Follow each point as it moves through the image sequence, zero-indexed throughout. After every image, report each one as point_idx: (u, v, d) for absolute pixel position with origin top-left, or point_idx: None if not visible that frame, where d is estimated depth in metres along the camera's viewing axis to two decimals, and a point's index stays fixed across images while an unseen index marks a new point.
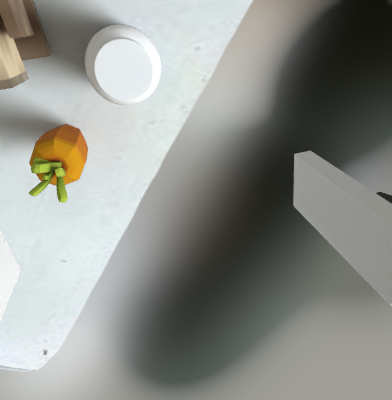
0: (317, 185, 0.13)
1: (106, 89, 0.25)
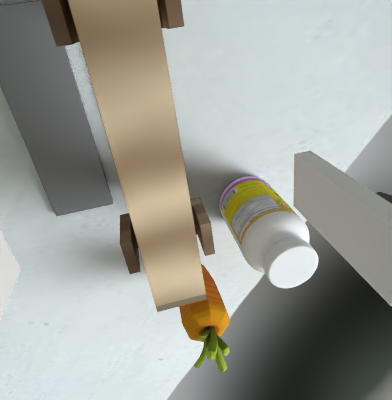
0: (317, 185, 0.13)
1: (275, 282, 0.28)
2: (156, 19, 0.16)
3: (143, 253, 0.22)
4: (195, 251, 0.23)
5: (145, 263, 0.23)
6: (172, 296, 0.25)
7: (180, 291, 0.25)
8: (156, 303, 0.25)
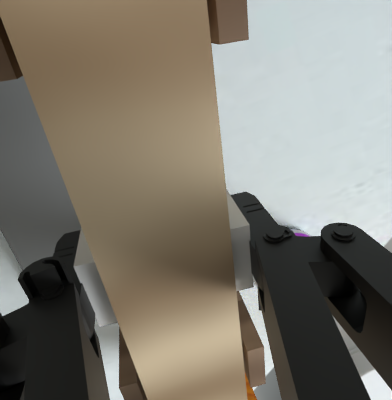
0: None
1: None
2: (201, 26, 0.07)
3: None
4: None
5: None
6: None
7: None
8: None
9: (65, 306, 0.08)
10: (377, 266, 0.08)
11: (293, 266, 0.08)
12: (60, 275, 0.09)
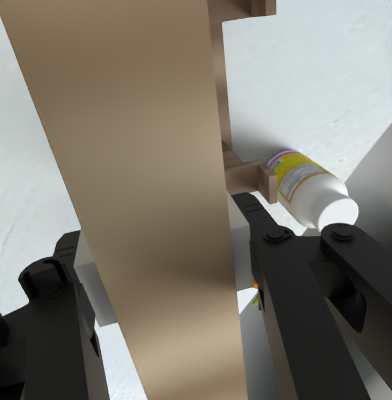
0: None
1: None
2: (202, 28, 0.07)
3: None
4: None
5: None
6: None
7: None
8: None
9: (65, 306, 0.08)
10: (377, 266, 0.08)
11: (293, 266, 0.08)
12: (60, 275, 0.09)
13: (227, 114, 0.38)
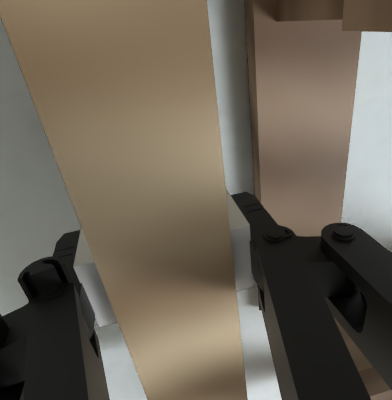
0: None
1: None
2: (202, 29, 0.07)
3: None
4: None
5: None
6: None
7: None
8: None
9: (65, 306, 0.08)
10: (377, 266, 0.08)
11: (293, 266, 0.08)
12: (59, 275, 0.09)
13: (339, 203, 0.19)
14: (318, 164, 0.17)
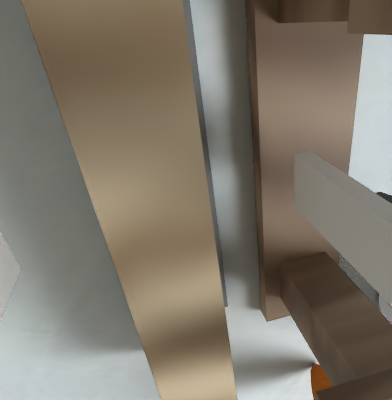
0: (317, 185, 0.13)
1: None
2: (180, 31, 0.09)
3: (153, 364, 0.15)
4: (226, 355, 0.16)
5: (155, 375, 0.16)
6: None
7: None
8: None
9: None
10: None
11: None
12: None
13: None
14: None
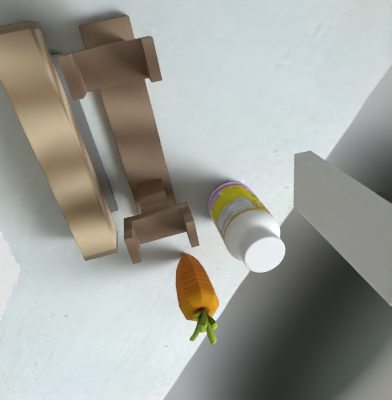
0: (317, 185, 0.13)
1: (250, 267, 0.34)
2: (51, 88, 0.30)
3: (68, 220, 0.36)
4: (102, 219, 0.37)
5: (70, 227, 0.36)
6: (93, 250, 0.38)
7: (97, 246, 0.38)
8: (83, 255, 0.38)
9: None
10: None
11: None
12: None
13: (161, 154, 0.39)
14: (143, 135, 0.37)
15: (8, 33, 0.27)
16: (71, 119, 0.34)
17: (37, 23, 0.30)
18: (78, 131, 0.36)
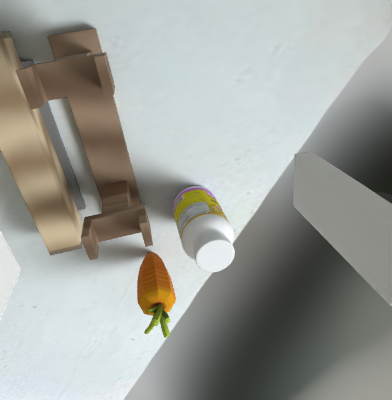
0: (317, 185, 0.13)
1: (202, 267, 0.37)
2: (17, 94, 0.32)
3: (34, 216, 0.38)
4: (67, 216, 0.39)
5: (36, 223, 0.39)
6: (58, 245, 0.41)
7: (62, 242, 0.41)
8: (48, 249, 0.41)
9: None
10: None
11: None
12: None
13: (127, 157, 0.41)
14: (109, 139, 0.40)
15: None
16: (39, 122, 0.36)
17: (8, 32, 0.33)
18: (47, 133, 0.38)
